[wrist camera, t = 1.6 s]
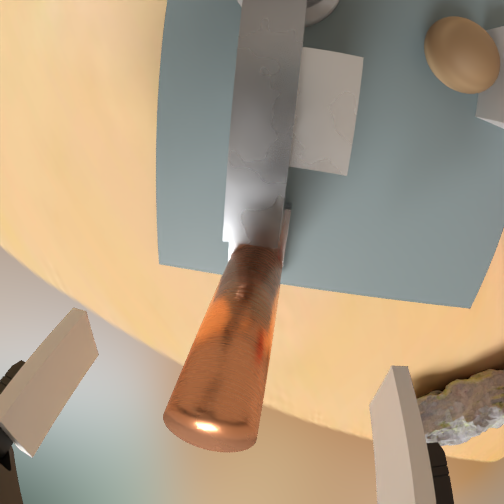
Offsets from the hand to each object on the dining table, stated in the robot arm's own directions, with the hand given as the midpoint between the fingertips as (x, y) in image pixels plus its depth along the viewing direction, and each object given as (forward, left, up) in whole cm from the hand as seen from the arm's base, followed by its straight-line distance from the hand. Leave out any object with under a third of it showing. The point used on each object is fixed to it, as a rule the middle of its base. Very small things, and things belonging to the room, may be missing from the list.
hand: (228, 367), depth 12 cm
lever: (-9, +1, -9) cm, 13 cm away
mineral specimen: (+13, +23, -11) cm, 29 cm away
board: (-10, +5, -11) cm, 16 cm away
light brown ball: (-15, +10, -10) cm, 20 cm away
